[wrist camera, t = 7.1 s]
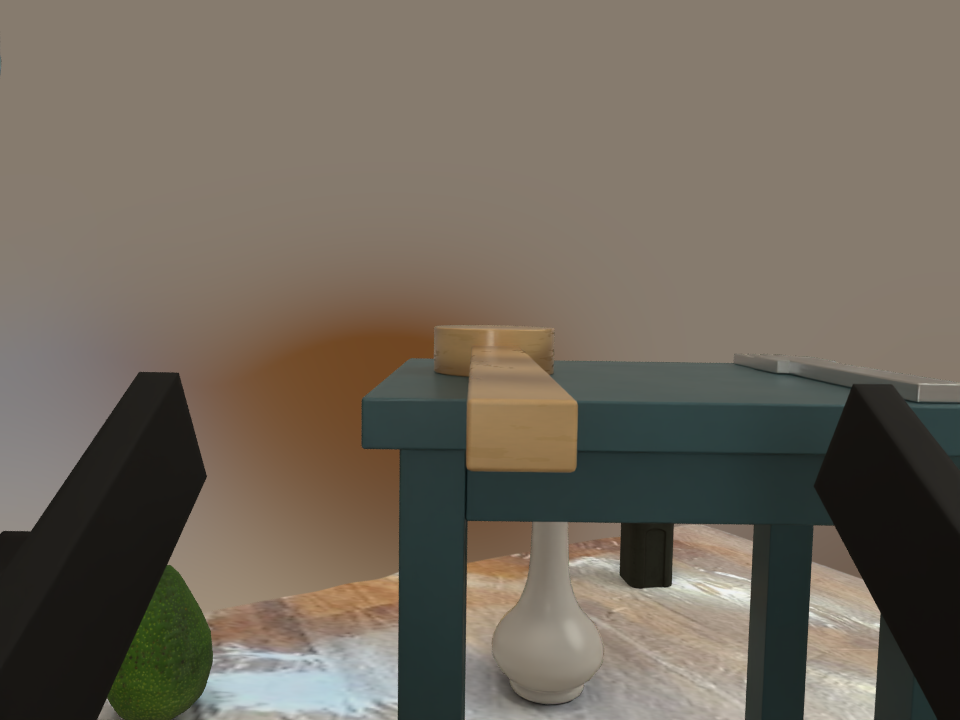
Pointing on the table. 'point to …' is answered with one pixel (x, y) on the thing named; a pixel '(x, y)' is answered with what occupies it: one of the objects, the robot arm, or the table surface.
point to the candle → (646, 554)
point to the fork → (854, 376)
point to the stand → (631, 504)
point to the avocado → (165, 656)
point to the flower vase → (548, 627)
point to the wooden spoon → (510, 397)
